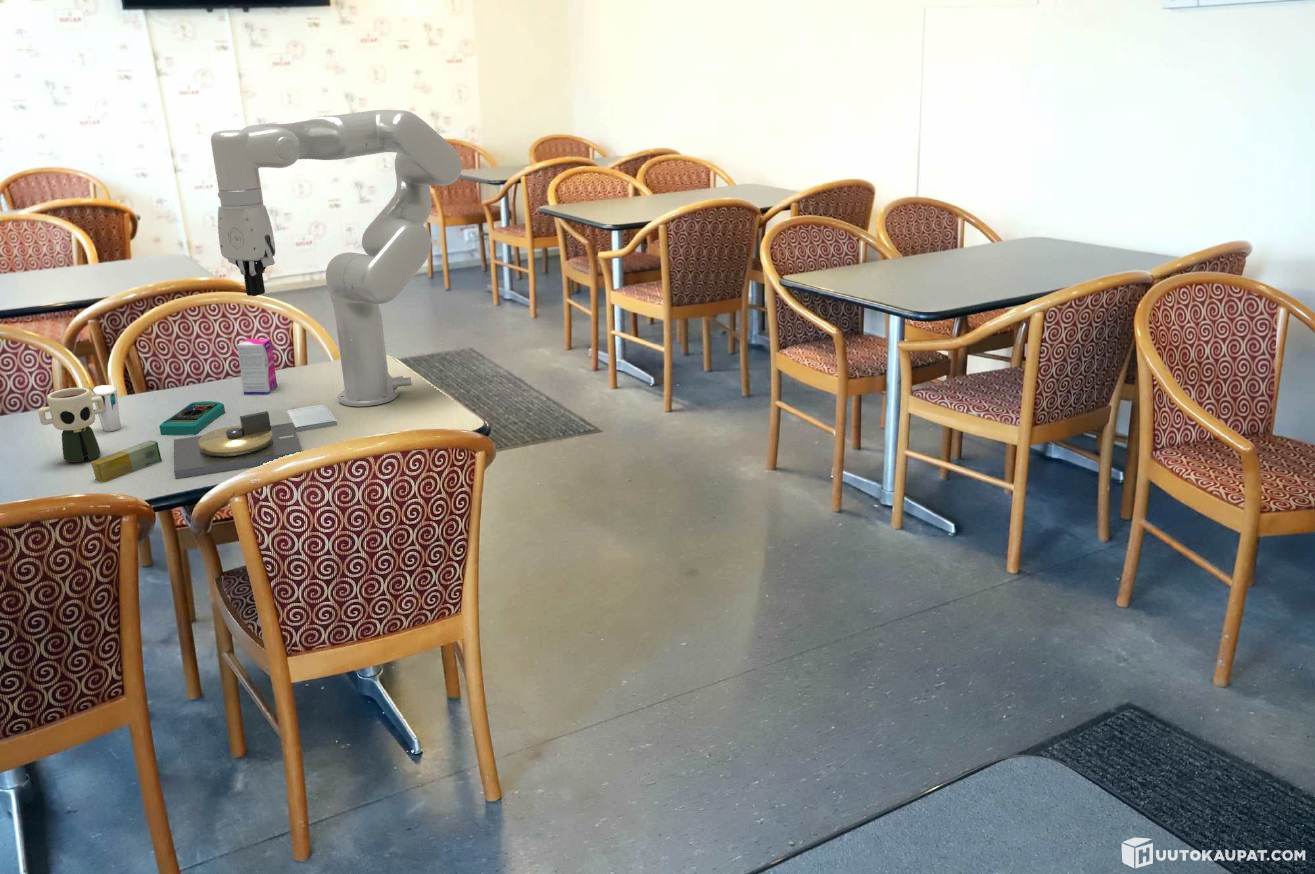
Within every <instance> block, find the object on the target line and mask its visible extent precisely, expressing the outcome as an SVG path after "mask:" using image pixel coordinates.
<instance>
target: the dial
mask: <svg viewBox="0 0 1315 874" xmlns="http://www.w3.org/2000/svg"><path fill="white" fill-rule="evenodd" d="M239 420H240V425H232V426H226V427H221V428H218V429H217V428H216V429H215V430H213V431H211V430H210V431H209V432H207V433H205V434H203V436H202V435H201V436H202V437H201V438H200V439H199V441H198V443H199V448H200V451H201V452H202V453H204V454H206V455H211V456H234V455H241V454H246V453H250V452H254V451H257V450H260V449H262V448H264V447H266V446H268V445H269V444H271V442H272V441H273V437H272V431H271V426H272V425H271V420H270V413H269V411H268V410H265V411H260V412H255V413H250V414H245V415H241V416H239Z"/></svg>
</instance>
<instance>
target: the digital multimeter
mask: <svg viewBox="0 0 1315 874" xmlns="http://www.w3.org/2000/svg"><path fill="white" fill-rule="evenodd" d="M225 412H226V409H225V404H224V403H221V402H220V401H212V400H211V401H210V400H208V401H205V400H204V401H203V400H202V401H194V402H193V401H192V402H190V403H189V404H188V405H187V406H185V407H183V408H182V409H181V410H180V411H178V412H177V413H175V414H173V416H171V417H168V418H167V419H166V420H164V421H162V422H161V424H159V432H160V434H161V435H163V436H165V435H166V436H185V435H186V436H190V435H193V436H195V435H196V434H198V433H199V432H201V431H202V430H203V429H204V428H205V427H207V426H208V425H209V424H210V423H212V422H213V421H215V420H216V419H217V418H219V417H220V416H222V415H223V414H224V413H225Z"/></svg>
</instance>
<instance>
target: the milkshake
mask: <svg viewBox="0 0 1315 874" xmlns="http://www.w3.org/2000/svg"><path fill="white" fill-rule="evenodd" d="M88 387H89V388H88V389H89V390H90V391H91V392H90V395H91V398H93V397H98V396H100V397H102V399H103V403H104V408H105V412H103V413H100V414H97V415H98V418H99V421H100V425H101V429H102V431H103V432H117V431H118V430H120V429H121V427H122V425H121V419H120V418H121V417H120V410H119V409H120V408H119V400H118V391H117V388H116V387H115V386H114V385H111V384H106V385H105V384H104V385H103V384H102V385H97V386H95V387H94V388H92V387H91V386H88ZM93 403H94V405H95V408H96V409H99V406H98V402H93Z"/></svg>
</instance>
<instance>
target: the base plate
mask: <svg viewBox="0 0 1315 874" xmlns="http://www.w3.org/2000/svg"><path fill="white" fill-rule="evenodd" d="M271 431H272V437H273V441H272V442H271V444H269V445H268V446H266V447H264V448H262V449H260V450H257V451H254V452H250V453H246V454H241V455H234V456H211V455H206V454H204V453H202V452H201V451H200V448H199V443H198V441H199V439H200V438H201V437H202V436H203V435H204V434H203V435H196V436H195V435H194V436H189V437H183V438H175V439H173V472H174V478H175V480H176V479H177V480H178V479H183V478H189V477H197V476H202V475H208V474H215V473H220V472H227V471H228V472H229V471H233V470H241V469H246V468H253V467H259V466H258V465H260V466H263V465H262V464H263V463H267V462H269V461H273V460H274V459H278V458H279V457H283V456H285V455H289V454H294V453H296V452H301V451H303V449H302V445H301V443H300V440H299V437H298V432H296V431H295V428H294V425H293V423H291V422H286V423H279V424H273V425H271Z"/></svg>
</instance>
